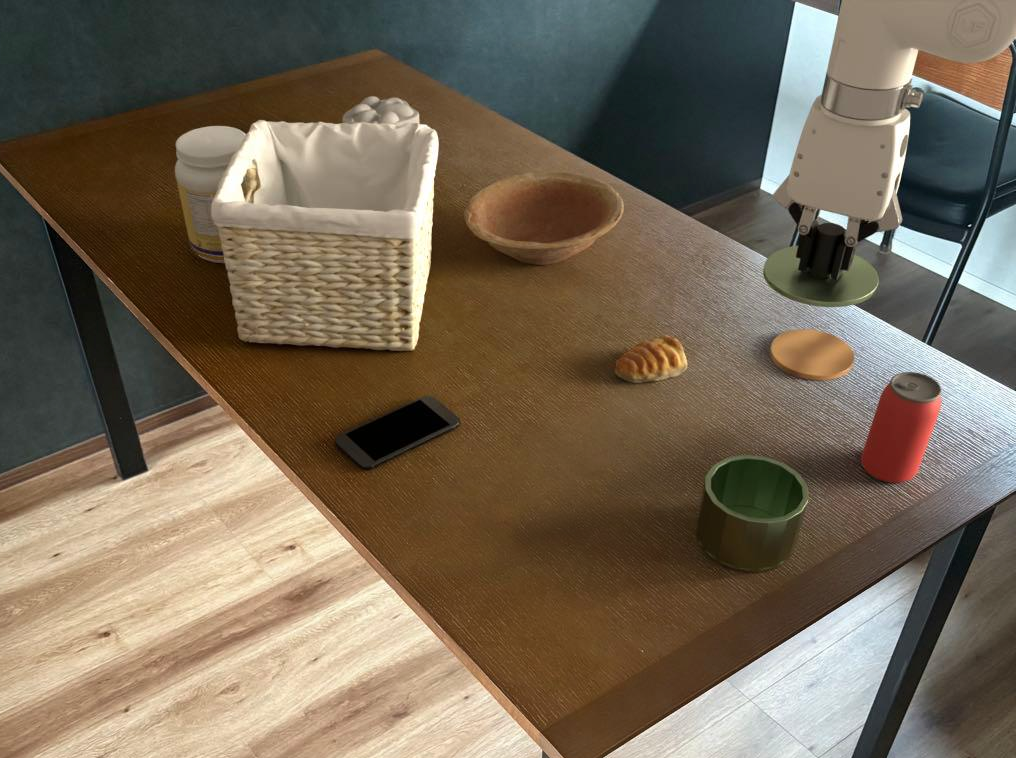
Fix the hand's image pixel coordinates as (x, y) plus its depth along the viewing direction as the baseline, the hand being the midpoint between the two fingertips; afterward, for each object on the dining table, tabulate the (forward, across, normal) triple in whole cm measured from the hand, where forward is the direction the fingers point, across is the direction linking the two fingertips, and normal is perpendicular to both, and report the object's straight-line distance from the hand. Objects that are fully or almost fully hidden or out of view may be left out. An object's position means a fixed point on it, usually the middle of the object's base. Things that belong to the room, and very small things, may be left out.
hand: (821, 268), depth 114 cm
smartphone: (+25, +42, +21) cm, 53 cm away
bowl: (+25, +48, -28) cm, 61 cm away
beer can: (+25, -12, -4) cm, 28 cm away
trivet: (+25, +3, -22) cm, 33 cm away
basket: (+25, +65, -1) cm, 70 cm away
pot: (+25, -2, +16) cm, 30 cm away
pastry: (+25, +20, -8) cm, 33 cm away
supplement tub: (+25, +90, -5) cm, 94 cm away
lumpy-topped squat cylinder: (+25, +89, -44) cm, 102 cm away
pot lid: (+1, 0, 0) cm, 1 cm away
